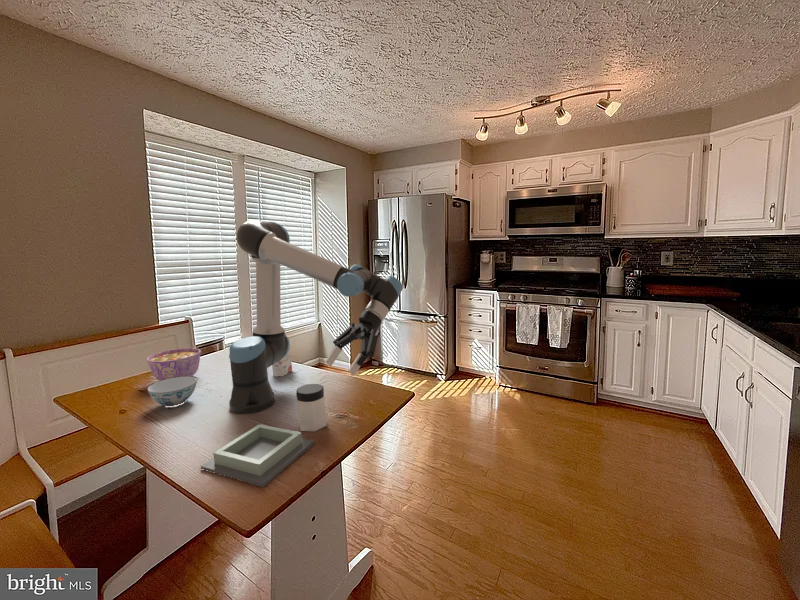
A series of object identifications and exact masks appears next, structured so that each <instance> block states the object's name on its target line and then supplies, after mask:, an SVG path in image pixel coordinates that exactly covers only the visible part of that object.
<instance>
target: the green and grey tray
mask: <svg viewBox="0 0 800 600" xmlns="http://www.w3.org/2000/svg"><path fill="white" fill-rule="evenodd" d="M313 445H315V440H314V439H309V438H303V435H302V431H301V432H300V431H296V430H291V429H286V428H280V427H278V426H277V427H276V426H271V425H266V424H261V423H258V424H257V425H256V426H254V427H252V428H250V429H249V430H248V431H246V432H245V433H242V434H241V435H240V436H238V437H236V438H235V439H233V440H232V441H230V442H228V443H226V444H225V445H224V446H221V448H219V449H217V450H215V451H214V452H213V453H212V454H213V458H211V459H209V460H208V461H207V462H205V463H203V464H202V465H200V470H201V469H204V470H208V471H211V472H215V473H218V474H221V475H225V476H228V477H232V478H235V479H239V480H242V481H245V482H244V483H246V482H248V483H247V484H249V483H251V484H250V485H253V484H254V486H256V485H257V486H258V487H260V488H264V487H265V486H267V484H269V483H270V482H271V481H272V480H273V479H274V478H276V477H277V476H278V475H280V473H282V472H283V471H284V470H285V469H286V468H287V467H289V466H290V465H291V464H293V462H295V461H296V460H297V459H298V458H299V457H301V456H302V455H304V453H305V452H306V451H308V450H309V449H310V448H311V447H313ZM211 472H210V473H211ZM218 474H217V475H218ZM221 475H220V476H221ZM225 476H224V477H225ZM228 477H227V478H228ZM232 478H231V479H232ZM235 479H234V480H235ZM239 480H238V481H239ZM242 481H241V482H242Z"/></svg>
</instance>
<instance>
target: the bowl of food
mask: <svg viewBox="0 0 800 600" xmlns="http://www.w3.org/2000/svg"><path fill="white" fill-rule="evenodd" d="M201 353H202V351H201V349H200V348H196V347H194V348H193V347H184V348H175V349H169V350H163V351H160V352H156V353H154V354H151V355H149V356H148V357H147V358H146V361H147V365H148V366H149V369H150V372H151V374H152V376H153V377H154V378H155V379H156V380H158V382H160V381H163V380H166V379H171V378H177V377H193V376H194V375H195V374H196V373H197V372H198V370H199V367H200V360H201Z"/></svg>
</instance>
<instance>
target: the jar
mask: <svg viewBox="0 0 800 600" xmlns="http://www.w3.org/2000/svg"><path fill="white" fill-rule="evenodd" d="M324 391H325V390H324V386H323V385H322V384H320V383H310V384H309V383H308V384H304V385H301V386H299V387H297V389H296V402H297V403H296V404H297V414H298V426H299V429H300V431H301V432H312V433H313V432H317V431H318V430H321V429H323V428H324V427H326V426H327V415H326V414H327V413H326V402H325V401H326V400H325V399H326V398H325V397H326V396H325V392H324Z"/></svg>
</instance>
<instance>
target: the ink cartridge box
mask: <svg viewBox="0 0 800 600" xmlns="http://www.w3.org/2000/svg"><path fill="white" fill-rule="evenodd" d="M291 353H292V352H291V345H290V346H289V351H288V353H287V354H286V355H285V356H284V357H283V358H282V359H281V360H280V361H278V362H276V363H274V364H273V365H271V367H272V368H271V369H272V377H278V376H283V377H285V376H286V375H288V374H289V373H290V372H292V371H293V366H292V354H291ZM291 370H292V371H291ZM288 372H289V373H288ZM284 375H285V376H284Z"/></svg>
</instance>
